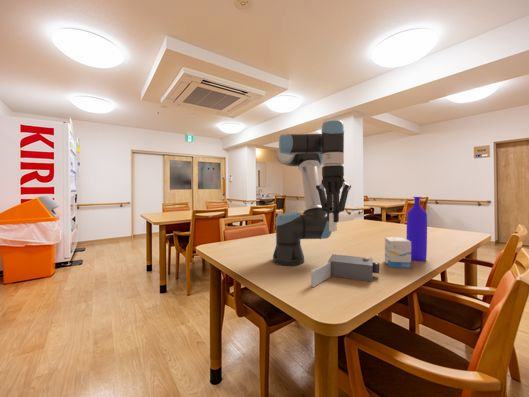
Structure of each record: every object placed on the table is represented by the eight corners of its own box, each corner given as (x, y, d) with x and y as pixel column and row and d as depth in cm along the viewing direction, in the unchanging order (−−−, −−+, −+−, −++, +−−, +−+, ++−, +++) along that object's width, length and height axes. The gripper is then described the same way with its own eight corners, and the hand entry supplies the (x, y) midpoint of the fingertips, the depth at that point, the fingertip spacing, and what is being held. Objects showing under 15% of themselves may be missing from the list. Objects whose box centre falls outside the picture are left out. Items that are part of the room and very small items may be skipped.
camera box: (328, 275, 94) (328, 258, 94) (332, 267, 104) (332, 252, 103) (379, 282, 87) (379, 264, 86) (379, 273, 96) (379, 256, 95)
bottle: (427, 262, 108) (428, 197, 107) (406, 259, 113) (406, 197, 111) (426, 257, 115) (427, 196, 114) (406, 255, 120) (407, 196, 118)
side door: (327, 275, 95) (327, 261, 94) (331, 276, 93) (331, 261, 93) (309, 286, 84) (309, 270, 84) (313, 287, 83) (313, 271, 83)
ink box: (411, 268, 101) (412, 241, 101) (390, 267, 103) (390, 240, 102) (404, 262, 110) (404, 237, 109) (384, 261, 111) (384, 236, 111)
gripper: (311, 166, 87) (311, 230, 88) (345, 163, 77) (345, 234, 79) (322, 167, 92) (322, 227, 93) (355, 164, 83) (355, 231, 84)
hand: (332, 230), depth 86 cm, fingers closed
